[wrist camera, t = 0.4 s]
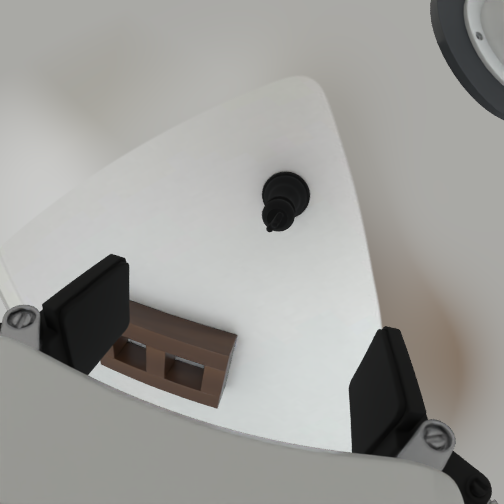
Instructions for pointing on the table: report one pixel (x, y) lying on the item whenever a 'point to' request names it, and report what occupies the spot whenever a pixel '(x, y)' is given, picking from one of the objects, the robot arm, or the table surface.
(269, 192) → the chess piece
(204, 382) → the socket base
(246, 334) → the table surface
